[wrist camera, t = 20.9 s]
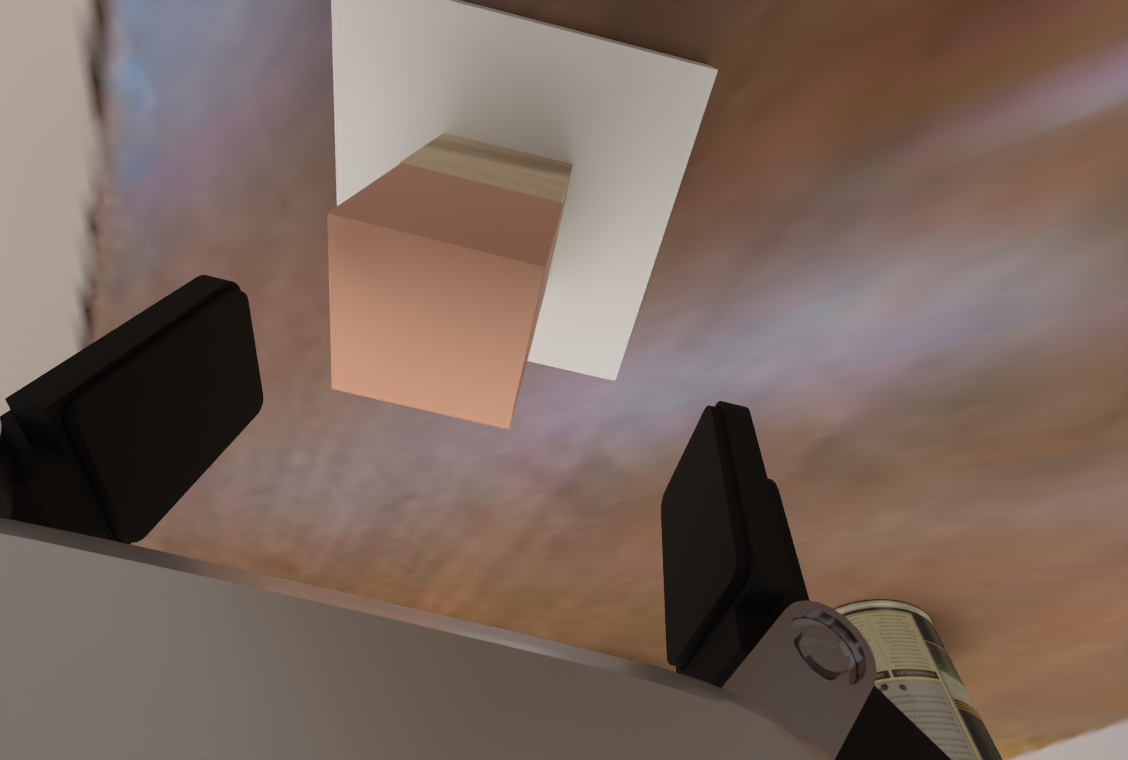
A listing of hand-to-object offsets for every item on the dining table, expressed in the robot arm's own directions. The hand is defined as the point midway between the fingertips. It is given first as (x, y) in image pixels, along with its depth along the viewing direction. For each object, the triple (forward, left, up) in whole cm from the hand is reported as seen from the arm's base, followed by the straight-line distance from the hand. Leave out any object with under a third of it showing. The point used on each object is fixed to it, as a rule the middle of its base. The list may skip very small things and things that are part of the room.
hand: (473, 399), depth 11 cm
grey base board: (+2, -2, -20) cm, 20 cm away
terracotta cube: (+2, -2, -11) cm, 12 cm away
